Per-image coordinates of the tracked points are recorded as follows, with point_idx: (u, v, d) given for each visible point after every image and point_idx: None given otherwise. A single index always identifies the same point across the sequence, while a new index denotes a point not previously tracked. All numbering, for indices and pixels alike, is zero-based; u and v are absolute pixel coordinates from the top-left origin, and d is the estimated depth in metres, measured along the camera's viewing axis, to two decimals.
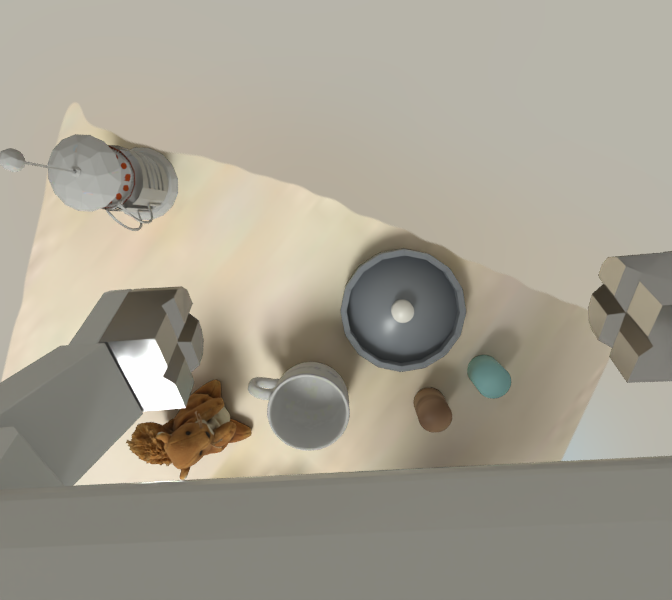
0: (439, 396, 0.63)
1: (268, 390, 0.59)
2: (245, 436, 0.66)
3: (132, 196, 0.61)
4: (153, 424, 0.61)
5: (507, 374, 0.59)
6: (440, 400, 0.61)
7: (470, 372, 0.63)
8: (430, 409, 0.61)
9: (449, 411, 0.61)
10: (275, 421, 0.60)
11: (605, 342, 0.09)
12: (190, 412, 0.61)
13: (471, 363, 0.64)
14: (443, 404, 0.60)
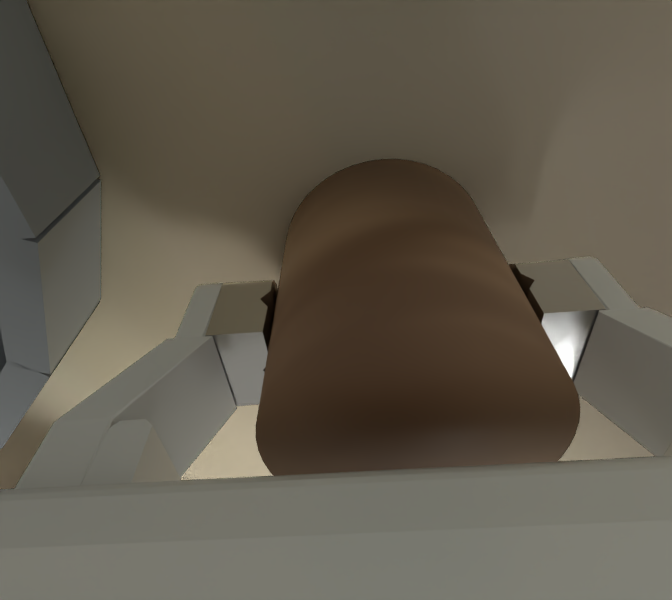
0: (316, 254, 0.07)
1: None
2: None
3: None
4: None
5: None
6: (303, 333, 0.06)
7: None
8: (327, 446, 0.06)
9: (450, 338, 0.05)
10: None
11: None
12: None
13: None
14: (341, 353, 0.05)
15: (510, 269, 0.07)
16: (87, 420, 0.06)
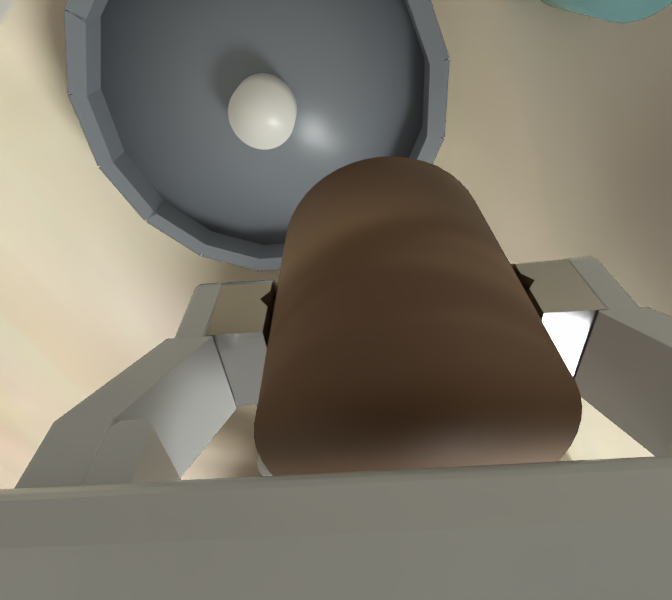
0: (316, 252, 0.07)
1: None
2: None
3: None
4: None
5: None
6: (302, 331, 0.06)
7: (554, 1, 0.18)
8: (326, 445, 0.06)
9: (450, 336, 0.05)
10: None
11: None
12: None
13: None
14: (340, 351, 0.05)
15: (511, 267, 0.07)
16: (87, 420, 0.06)
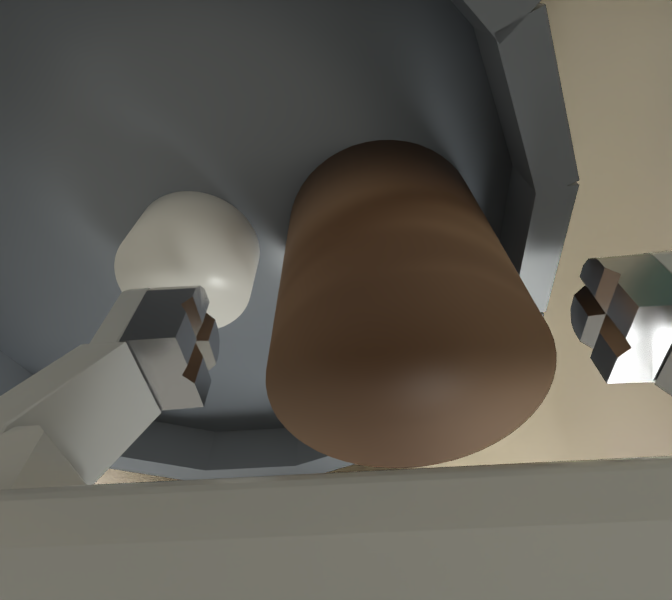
0: (320, 221, 0.08)
1: None
2: None
3: None
4: None
5: None
6: (309, 286, 0.07)
7: None
8: (330, 392, 0.07)
9: (439, 285, 0.06)
10: None
11: (587, 343, 0.09)
12: None
13: None
14: (343, 300, 0.06)
15: (496, 237, 0.08)
16: None
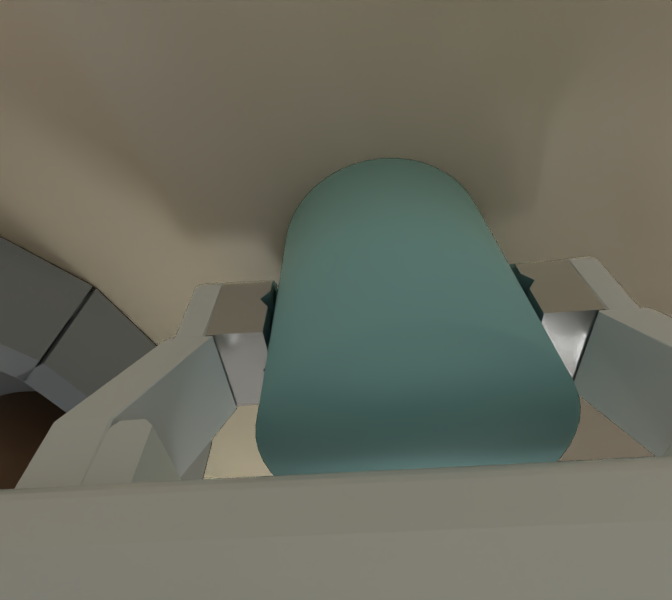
0: None
1: None
2: None
3: None
4: None
5: (420, 336, 0.05)
6: None
7: None
8: None
9: None
10: None
11: None
12: None
13: None
14: None
15: None
16: (88, 420, 0.06)
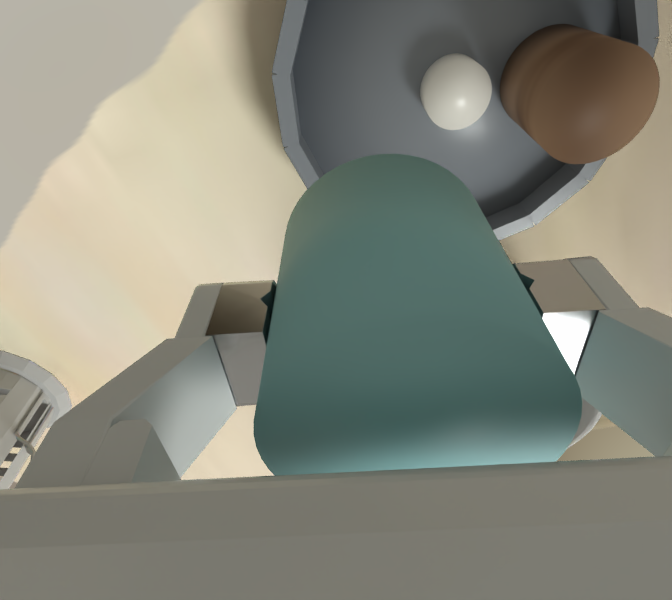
0: (551, 46, 0.18)
1: None
2: None
3: None
4: None
5: (420, 330, 0.05)
6: (564, 58, 0.17)
7: None
8: (563, 110, 0.18)
9: (621, 49, 0.16)
10: None
11: None
12: None
13: None
14: (584, 57, 0.16)
15: None
16: (88, 420, 0.06)
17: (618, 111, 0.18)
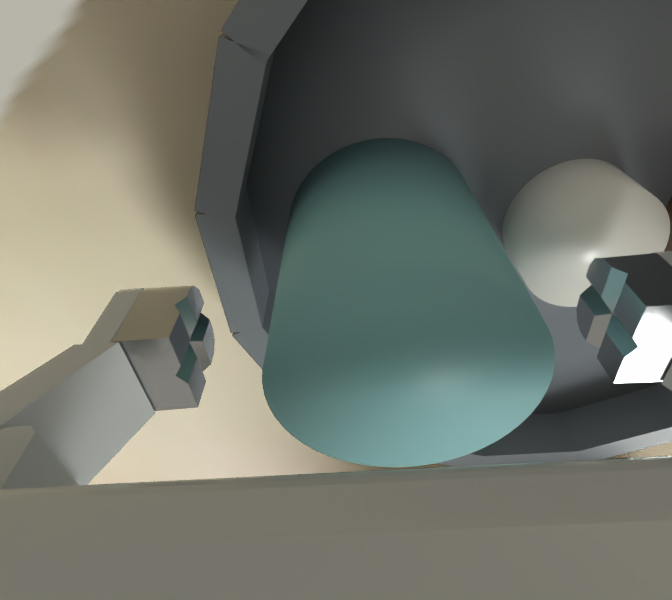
0: None
1: None
2: None
3: None
4: None
5: (410, 281, 0.06)
6: None
7: None
8: None
9: None
10: None
11: (593, 343, 0.09)
12: None
13: None
14: None
15: None
16: None
17: None
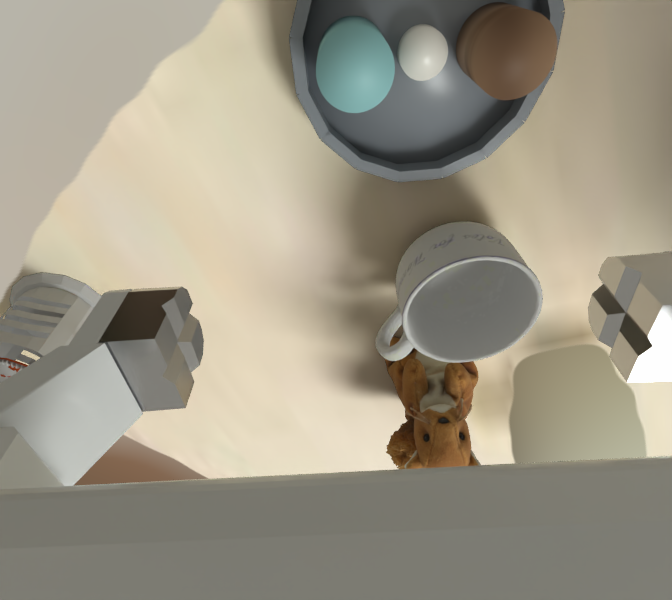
0: (486, 16, 0.26)
1: (402, 340, 0.37)
2: None
3: None
4: (395, 439, 0.46)
5: (353, 30, 0.24)
6: (491, 22, 0.25)
7: None
8: (493, 59, 0.25)
9: (528, 15, 0.24)
10: (451, 348, 0.39)
11: (605, 342, 0.09)
12: (405, 401, 0.43)
13: None
14: (503, 21, 0.24)
15: None
16: None
17: (531, 60, 0.25)
